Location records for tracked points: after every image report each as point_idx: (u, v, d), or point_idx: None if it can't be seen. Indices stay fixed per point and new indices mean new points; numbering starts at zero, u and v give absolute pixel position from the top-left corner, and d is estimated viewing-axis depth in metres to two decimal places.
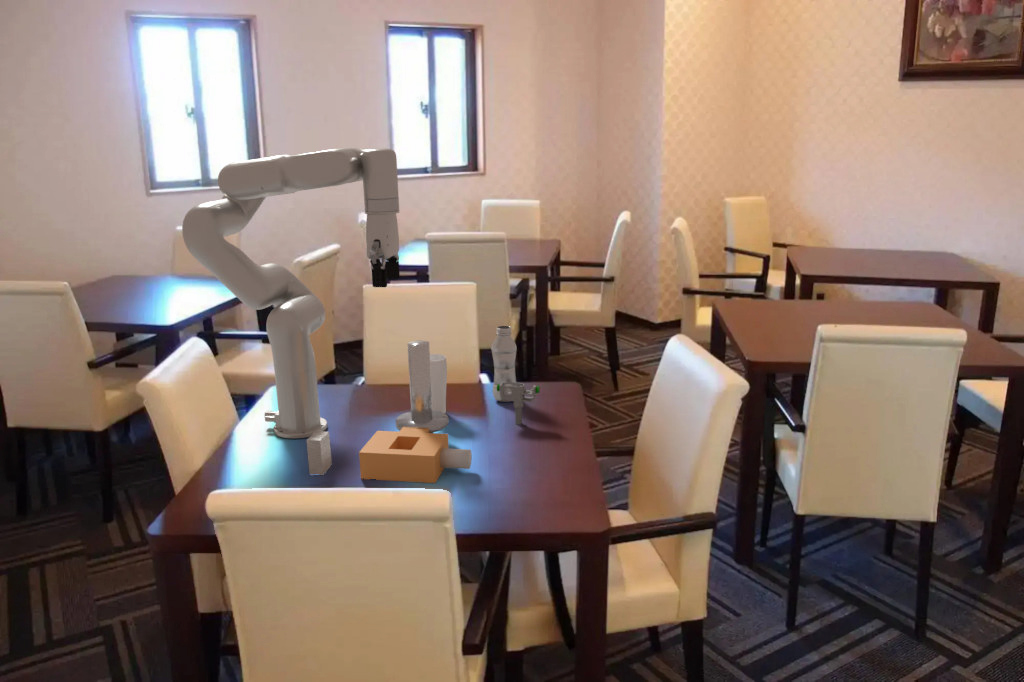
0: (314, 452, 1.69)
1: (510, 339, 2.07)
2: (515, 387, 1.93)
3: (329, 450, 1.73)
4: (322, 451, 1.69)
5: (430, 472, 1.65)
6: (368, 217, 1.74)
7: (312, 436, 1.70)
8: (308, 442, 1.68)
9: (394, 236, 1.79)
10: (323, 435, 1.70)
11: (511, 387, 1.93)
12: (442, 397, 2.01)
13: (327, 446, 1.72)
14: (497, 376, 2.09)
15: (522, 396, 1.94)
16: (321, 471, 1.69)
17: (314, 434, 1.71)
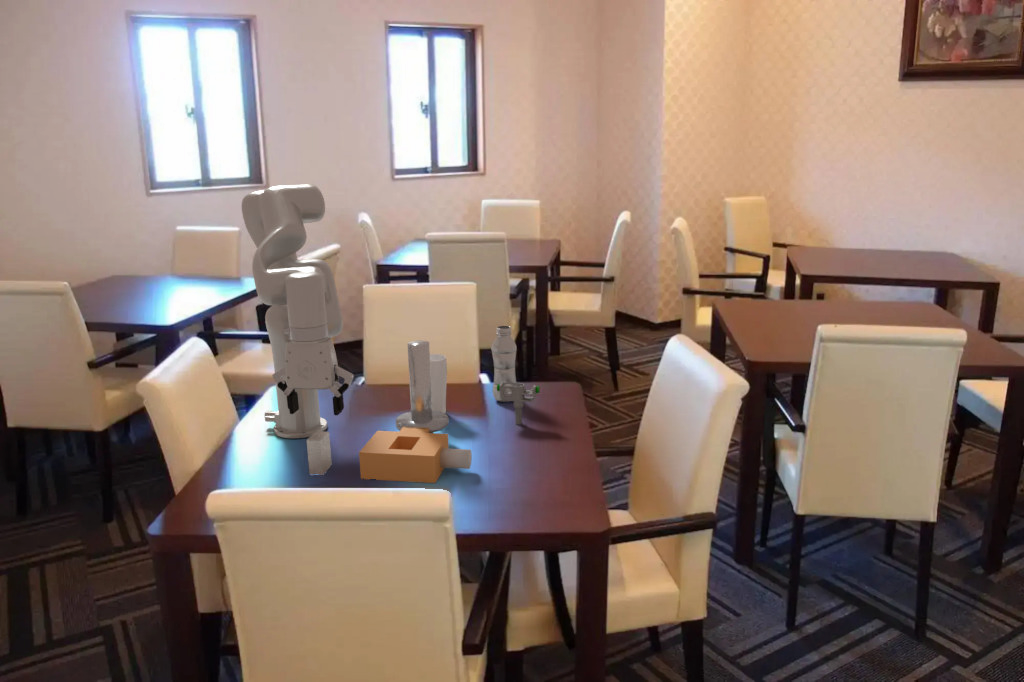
0: (314, 452, 1.69)
1: (510, 339, 2.07)
2: (515, 387, 1.93)
3: (329, 450, 1.73)
4: (322, 451, 1.69)
5: (430, 472, 1.65)
6: (326, 344, 1.62)
7: (312, 436, 1.70)
8: (308, 442, 1.68)
9: None
10: (323, 435, 1.70)
11: (511, 387, 1.93)
12: (442, 397, 2.01)
13: (327, 446, 1.72)
14: (497, 376, 2.09)
15: (522, 396, 1.94)
16: (321, 471, 1.69)
17: (314, 434, 1.71)
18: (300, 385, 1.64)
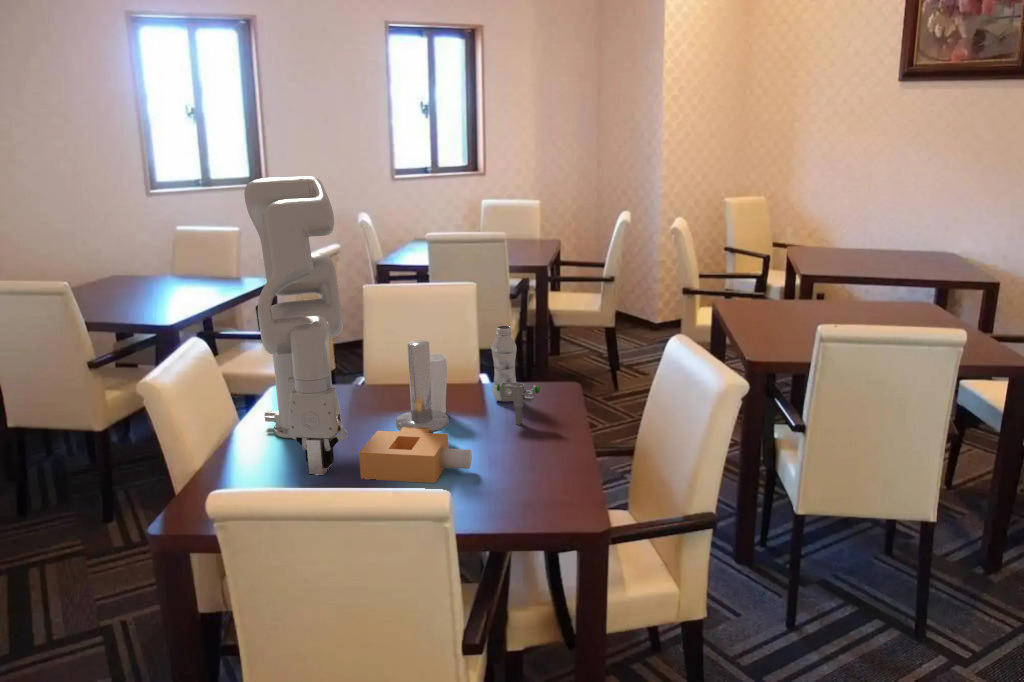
0: (314, 452, 1.69)
1: (510, 339, 2.07)
2: (515, 387, 1.93)
3: None
4: (321, 451, 1.69)
5: (430, 472, 1.65)
6: (330, 396, 1.65)
7: None
8: (308, 442, 1.68)
9: None
10: None
11: (511, 387, 1.93)
12: (442, 397, 2.01)
13: None
14: (497, 376, 2.09)
15: (522, 396, 1.94)
16: (321, 471, 1.70)
17: None
18: (304, 435, 1.67)
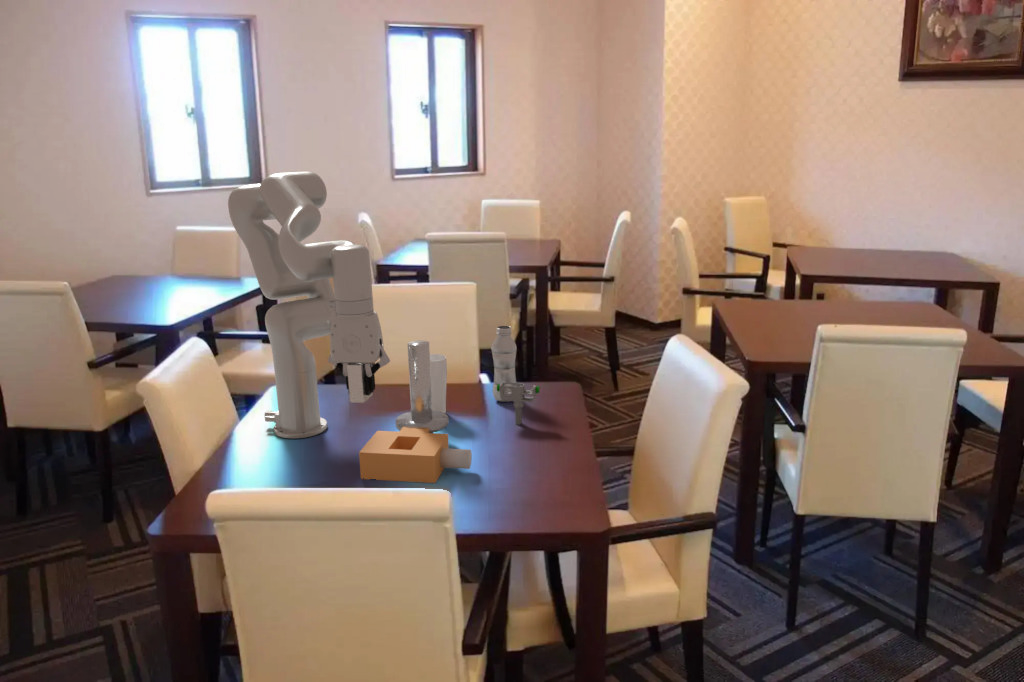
0: (355, 378, 1.64)
1: (510, 339, 2.07)
2: (515, 387, 1.93)
3: None
4: (362, 377, 1.64)
5: (430, 472, 1.65)
6: (372, 318, 1.61)
7: None
8: (349, 367, 1.63)
9: None
10: None
11: (511, 387, 1.93)
12: (442, 397, 2.01)
13: None
14: (497, 376, 2.09)
15: (522, 396, 1.94)
16: (362, 398, 1.65)
17: None
18: (346, 359, 1.63)
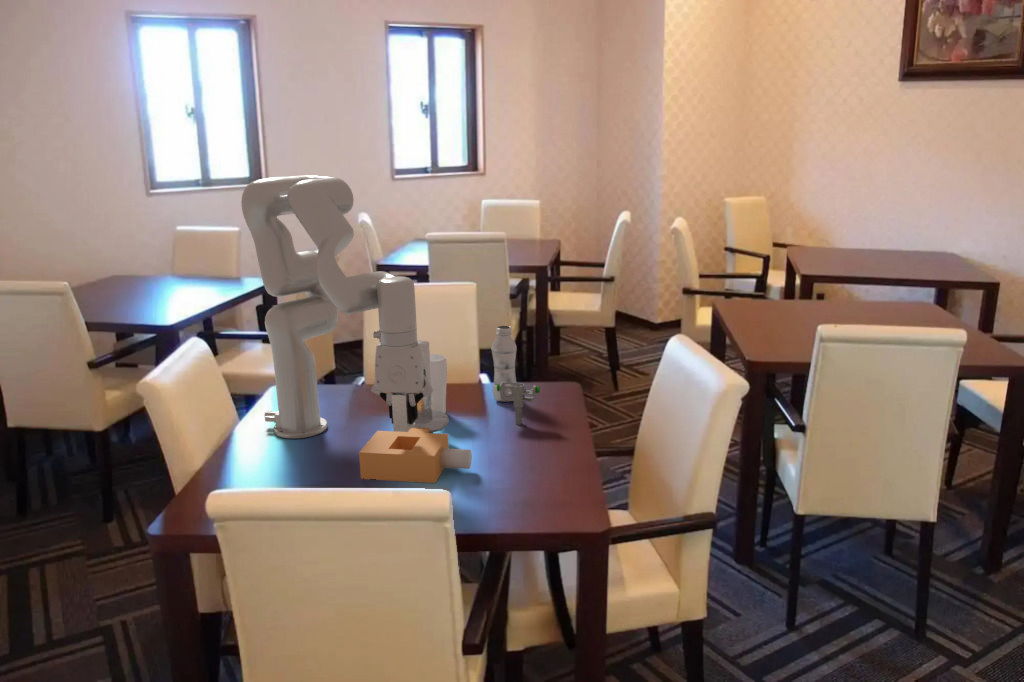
0: (399, 407, 1.66)
1: (510, 339, 2.07)
2: (515, 387, 1.93)
3: None
4: (407, 406, 1.66)
5: (430, 472, 1.65)
6: (417, 349, 1.63)
7: None
8: (393, 397, 1.65)
9: None
10: None
11: (511, 387, 1.93)
12: (442, 397, 2.01)
13: None
14: (497, 376, 2.09)
15: (522, 396, 1.94)
16: (406, 427, 1.67)
17: None
18: (390, 390, 1.65)
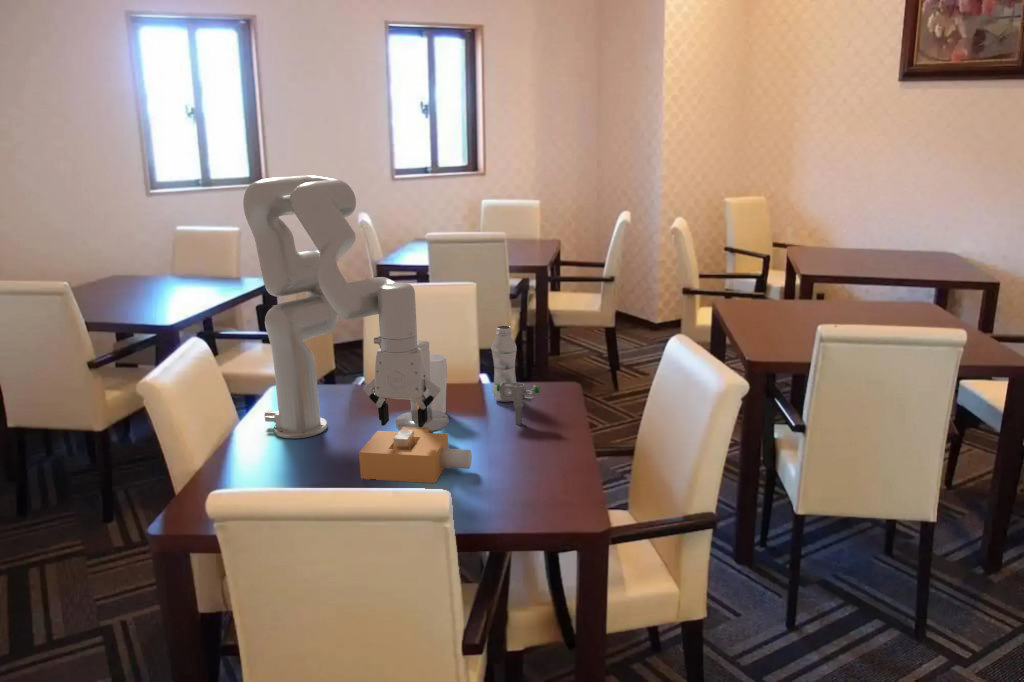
0: None
1: (510, 339, 2.07)
2: (515, 387, 1.93)
3: None
4: None
5: (430, 472, 1.65)
6: (417, 355, 1.63)
7: (398, 435, 1.70)
8: (395, 441, 1.68)
9: None
10: (409, 434, 1.70)
11: (511, 387, 1.93)
12: (442, 397, 2.01)
13: (412, 445, 1.72)
14: (497, 376, 2.09)
15: (522, 396, 1.94)
16: None
17: (400, 433, 1.71)
18: (390, 395, 1.65)
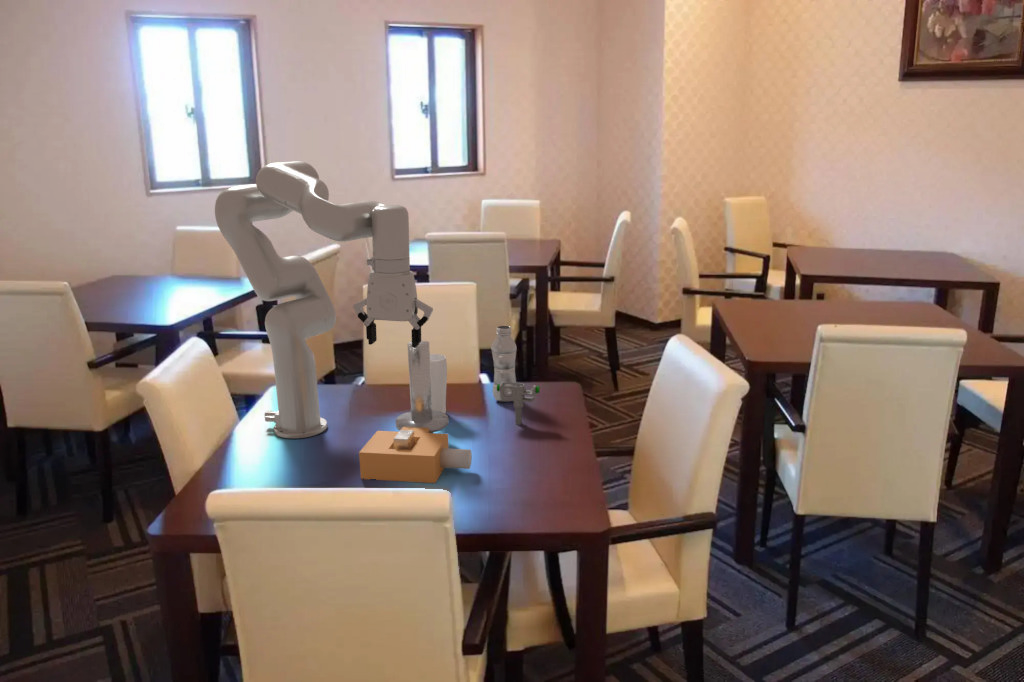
0: None
1: (510, 339, 2.07)
2: (515, 387, 1.93)
3: None
4: None
5: (430, 472, 1.65)
6: (408, 277, 1.66)
7: (398, 435, 1.70)
8: (395, 441, 1.68)
9: None
10: (409, 434, 1.70)
11: (511, 387, 1.93)
12: (442, 397, 2.01)
13: (412, 445, 1.72)
14: (497, 376, 2.09)
15: (522, 396, 1.94)
16: None
17: (400, 433, 1.71)
18: (381, 316, 1.68)
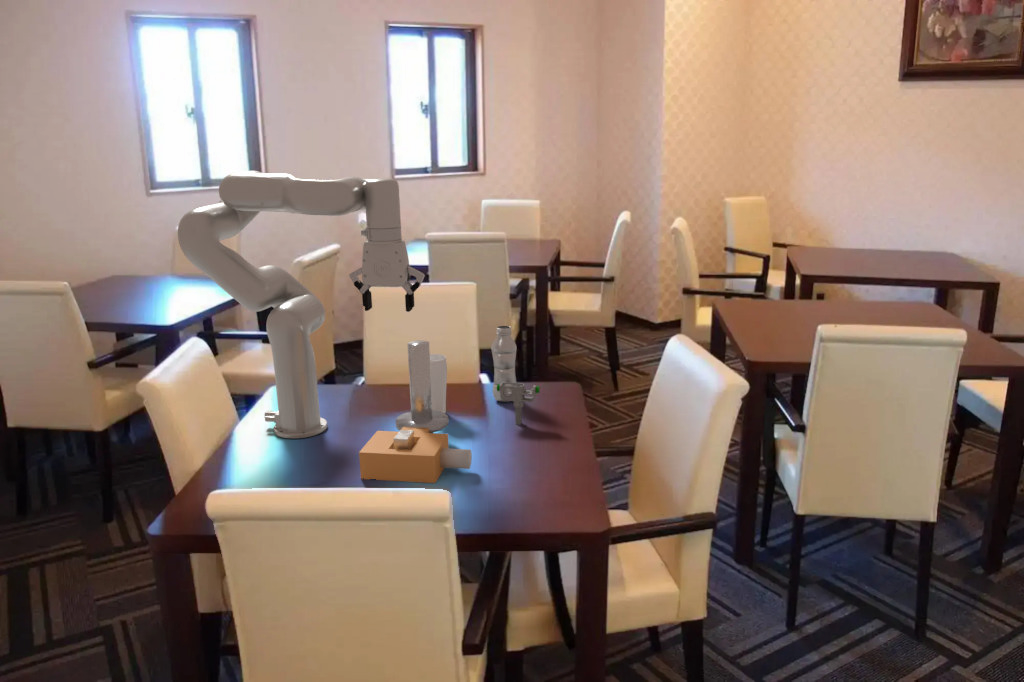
0: None
1: (510, 339, 2.07)
2: (515, 387, 1.93)
3: None
4: None
5: (430, 472, 1.65)
6: (401, 245, 1.77)
7: (398, 435, 1.70)
8: (395, 441, 1.68)
9: None
10: (409, 434, 1.70)
11: (511, 387, 1.93)
12: (442, 397, 2.01)
13: (412, 445, 1.72)
14: (497, 376, 2.09)
15: (522, 396, 1.94)
16: None
17: (400, 433, 1.71)
18: (376, 283, 1.79)
